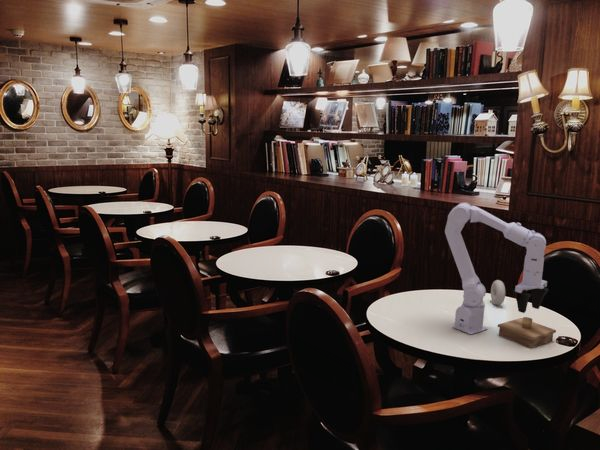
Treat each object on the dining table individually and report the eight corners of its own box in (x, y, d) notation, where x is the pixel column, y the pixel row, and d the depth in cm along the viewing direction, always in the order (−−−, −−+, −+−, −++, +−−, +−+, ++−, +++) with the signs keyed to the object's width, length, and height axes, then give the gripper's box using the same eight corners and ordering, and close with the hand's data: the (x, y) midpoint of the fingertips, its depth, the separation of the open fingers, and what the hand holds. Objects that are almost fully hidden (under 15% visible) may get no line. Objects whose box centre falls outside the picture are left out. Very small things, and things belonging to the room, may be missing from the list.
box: (530, 348, 171) (531, 339, 170) (498, 335, 180) (499, 326, 180) (552, 340, 177) (553, 332, 176) (520, 328, 187) (521, 320, 186)
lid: (532, 340, 169) (533, 328, 169) (497, 326, 180) (498, 316, 179) (555, 332, 176) (557, 321, 176) (520, 320, 187) (522, 309, 186)
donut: (505, 309, 207) (507, 284, 205) (496, 308, 207) (498, 284, 206) (497, 300, 217) (499, 277, 215) (488, 300, 217) (490, 276, 215)
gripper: (530, 276, 167) (526, 317, 170) (557, 270, 175) (552, 309, 178) (511, 271, 173) (507, 310, 175) (537, 265, 181) (533, 303, 183)
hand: (528, 310), depth 177 cm, fingers open, 7 cm apart
